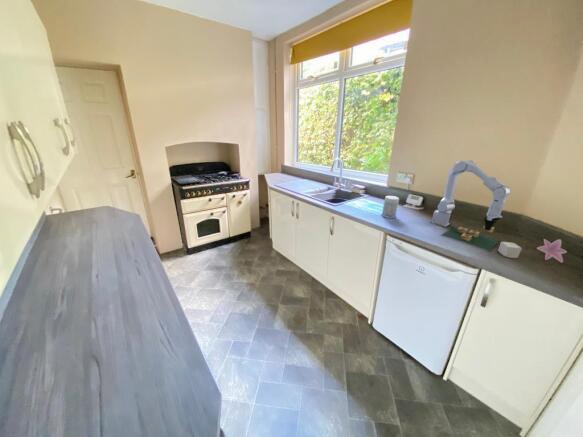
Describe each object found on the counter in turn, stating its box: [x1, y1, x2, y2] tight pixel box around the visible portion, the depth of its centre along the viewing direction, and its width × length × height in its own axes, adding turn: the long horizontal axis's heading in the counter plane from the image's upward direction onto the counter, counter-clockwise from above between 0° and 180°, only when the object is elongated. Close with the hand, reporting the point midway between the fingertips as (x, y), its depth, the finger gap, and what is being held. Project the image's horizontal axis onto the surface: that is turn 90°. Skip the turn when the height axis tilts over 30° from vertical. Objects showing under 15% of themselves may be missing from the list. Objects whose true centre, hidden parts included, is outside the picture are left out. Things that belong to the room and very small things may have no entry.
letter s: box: [481, 225, 495, 233], centre depth 139 cm, size 4×4×2 cm
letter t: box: [468, 229, 480, 237], centre depth 146 cm, size 4×4×2 cm
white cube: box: [497, 241, 523, 259], centre depth 124 cm, size 6×6×6 cm
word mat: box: [442, 227, 499, 251], centre depth 143 cm, size 24×20×1 cm
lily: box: [536, 238, 568, 264], centre depth 122 cm, size 12×12×10 cm
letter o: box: [460, 233, 472, 241], centre depth 140 cm, size 4×4×2 cm
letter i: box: [457, 226, 469, 234], centre depth 150 cm, size 4×4×2 cm
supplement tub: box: [381, 195, 400, 219], centre depth 172 cm, size 10×10×15 cm
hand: (488, 228), depth 139 cm, fingers closed on letter s, 4 cm apart
